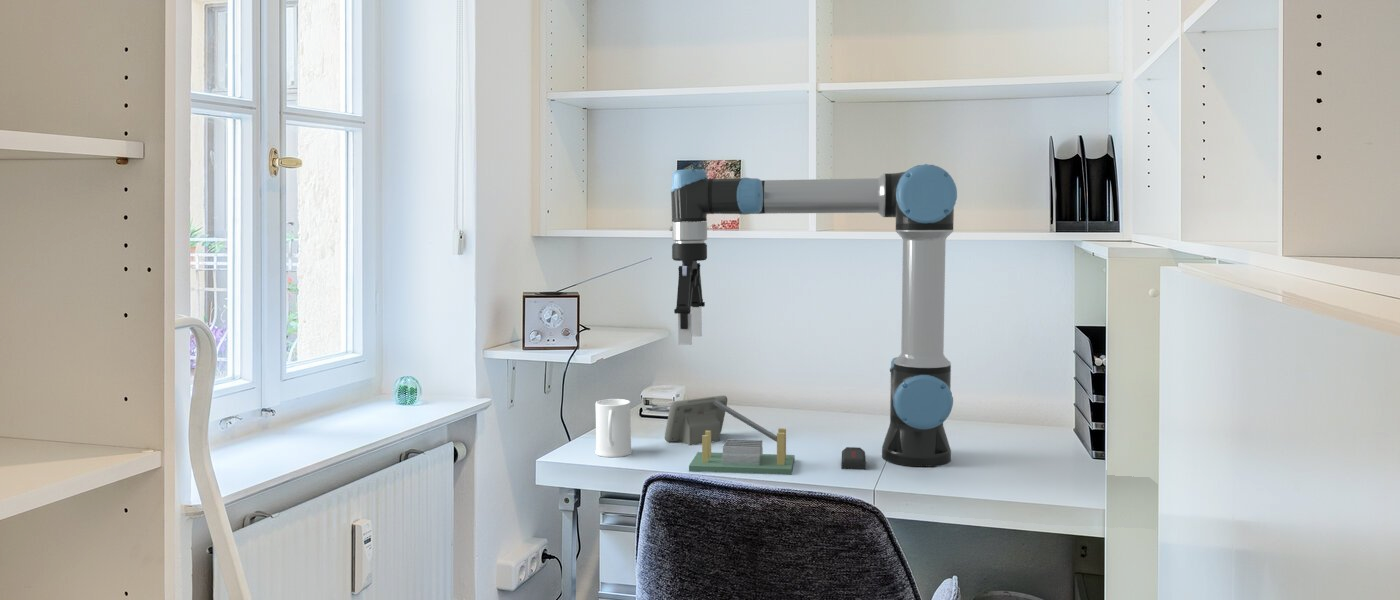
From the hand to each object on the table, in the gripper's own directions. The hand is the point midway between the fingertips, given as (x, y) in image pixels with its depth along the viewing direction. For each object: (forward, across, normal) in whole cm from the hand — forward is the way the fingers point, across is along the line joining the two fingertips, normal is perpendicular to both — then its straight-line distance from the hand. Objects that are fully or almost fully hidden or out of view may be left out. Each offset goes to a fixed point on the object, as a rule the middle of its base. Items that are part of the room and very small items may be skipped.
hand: (690, 340), depth 205 cm
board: (+28, -2, +11) cm, 30 cm away
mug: (+28, -8, -20) cm, 35 cm away
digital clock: (+28, -25, -3) cm, 38 cm away
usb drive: (+28, -8, +35) cm, 46 cm away
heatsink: (+27, -2, +11) cm, 29 cm away
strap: (+19, -2, +12) cm, 22 cm away
